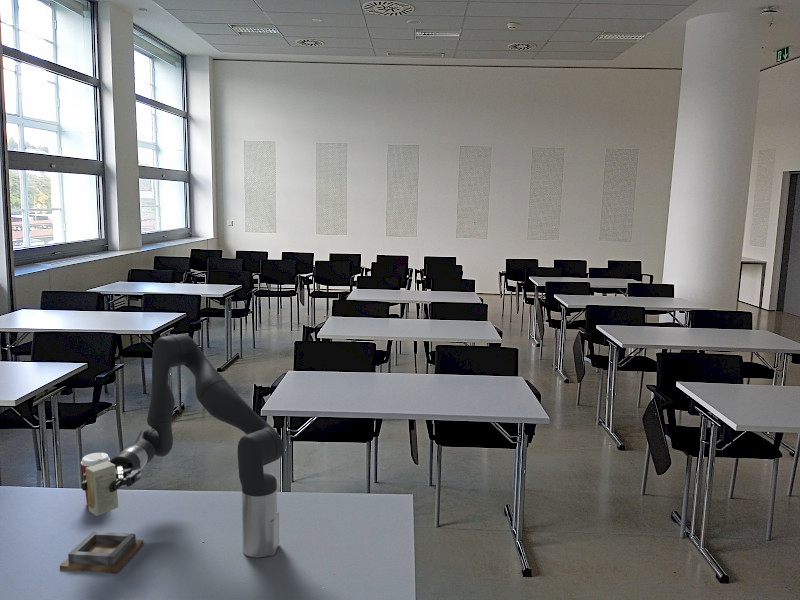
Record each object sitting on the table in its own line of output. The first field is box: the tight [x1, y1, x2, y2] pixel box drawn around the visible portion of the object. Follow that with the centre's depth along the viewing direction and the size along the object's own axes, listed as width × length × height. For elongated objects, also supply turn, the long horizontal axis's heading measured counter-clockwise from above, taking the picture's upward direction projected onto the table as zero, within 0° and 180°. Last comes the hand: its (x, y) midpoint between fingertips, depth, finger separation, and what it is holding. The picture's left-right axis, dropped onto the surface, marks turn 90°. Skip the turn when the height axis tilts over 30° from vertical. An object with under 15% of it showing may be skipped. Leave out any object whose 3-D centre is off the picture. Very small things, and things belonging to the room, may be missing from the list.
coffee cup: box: [80, 452, 111, 506], centre depth 206 cm, size 8×8×15 cm
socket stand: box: [59, 530, 145, 574], centre depth 176 cm, size 15×15×4 cm
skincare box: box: [85, 461, 119, 516], centre depth 175 cm, size 6×4×12 cm
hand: (97, 488), depth 172 cm, fingers closed on skincare box, 7 cm apart
